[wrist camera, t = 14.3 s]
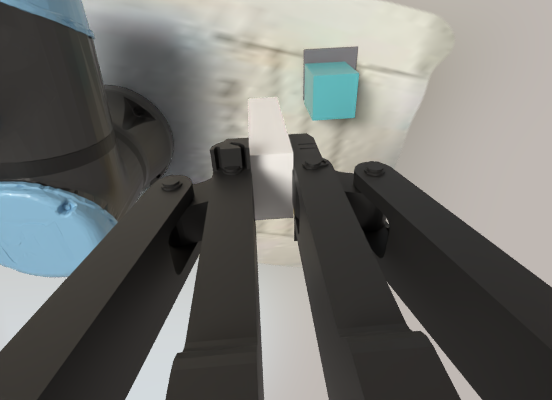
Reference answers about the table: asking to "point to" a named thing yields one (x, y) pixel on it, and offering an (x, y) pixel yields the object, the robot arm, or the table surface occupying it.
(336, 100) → the teal toy brick
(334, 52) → the panel
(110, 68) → the table surface
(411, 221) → the robot arm
